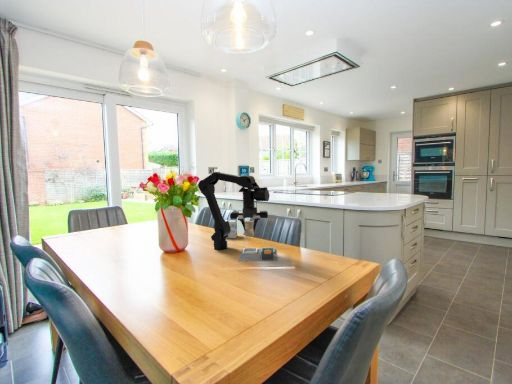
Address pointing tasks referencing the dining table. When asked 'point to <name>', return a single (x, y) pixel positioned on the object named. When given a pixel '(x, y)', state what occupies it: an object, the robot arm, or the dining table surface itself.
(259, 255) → the grey shape sorting board
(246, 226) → the block
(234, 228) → the light bulb box
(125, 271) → the dining table surface
